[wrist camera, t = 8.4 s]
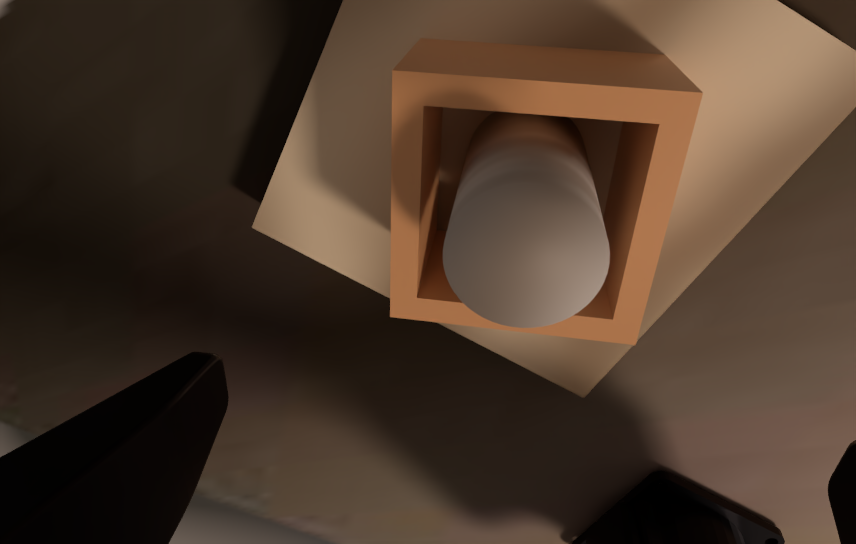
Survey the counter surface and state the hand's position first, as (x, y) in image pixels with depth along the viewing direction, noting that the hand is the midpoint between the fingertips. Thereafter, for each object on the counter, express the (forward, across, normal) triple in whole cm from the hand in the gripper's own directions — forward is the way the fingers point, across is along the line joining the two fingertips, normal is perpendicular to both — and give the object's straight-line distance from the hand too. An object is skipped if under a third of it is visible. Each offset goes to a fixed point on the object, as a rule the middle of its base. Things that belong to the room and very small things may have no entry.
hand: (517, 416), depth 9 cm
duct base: (+12, 0, 0) cm, 12 cm away
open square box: (+10, 0, 0) cm, 10 cm away
